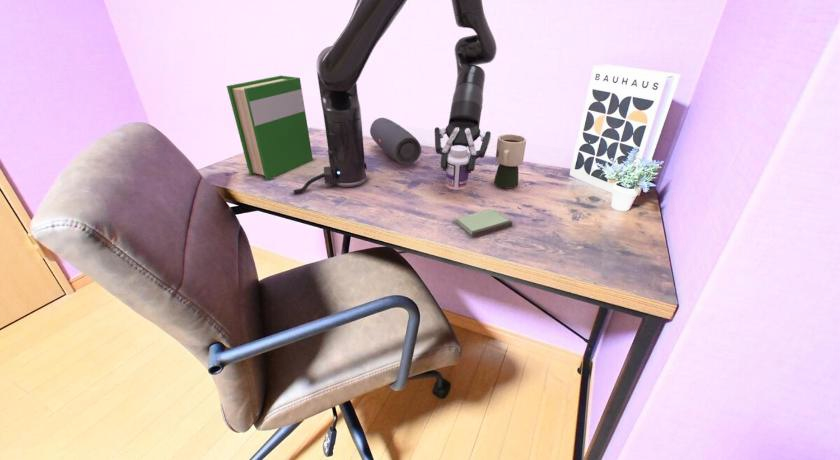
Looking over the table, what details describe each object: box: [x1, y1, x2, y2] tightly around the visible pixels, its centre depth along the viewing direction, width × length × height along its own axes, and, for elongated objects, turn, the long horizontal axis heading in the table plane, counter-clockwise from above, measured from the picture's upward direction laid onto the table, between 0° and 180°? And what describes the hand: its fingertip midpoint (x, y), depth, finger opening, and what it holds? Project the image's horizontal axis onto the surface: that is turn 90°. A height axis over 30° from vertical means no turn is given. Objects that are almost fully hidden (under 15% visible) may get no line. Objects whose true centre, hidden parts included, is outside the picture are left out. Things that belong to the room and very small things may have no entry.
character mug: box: [493, 133, 527, 189], centre depth 96 cm, size 11×7×13 cm, turn 152°
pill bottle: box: [445, 145, 470, 191], centre depth 89 cm, size 5×5×10 cm
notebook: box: [455, 208, 513, 238], centre depth 82 cm, size 10×7×1 cm
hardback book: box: [226, 75, 314, 181], centre depth 104 cm, size 18×7×24 cm, turn 150°
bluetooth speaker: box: [369, 117, 422, 166], centre depth 115 cm, size 23×9×10 cm, turn 25°
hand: (456, 170), depth 88 cm, fingers closed on pill bottle, 5 cm apart
